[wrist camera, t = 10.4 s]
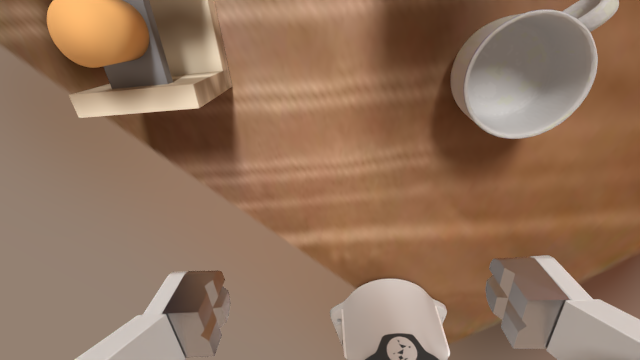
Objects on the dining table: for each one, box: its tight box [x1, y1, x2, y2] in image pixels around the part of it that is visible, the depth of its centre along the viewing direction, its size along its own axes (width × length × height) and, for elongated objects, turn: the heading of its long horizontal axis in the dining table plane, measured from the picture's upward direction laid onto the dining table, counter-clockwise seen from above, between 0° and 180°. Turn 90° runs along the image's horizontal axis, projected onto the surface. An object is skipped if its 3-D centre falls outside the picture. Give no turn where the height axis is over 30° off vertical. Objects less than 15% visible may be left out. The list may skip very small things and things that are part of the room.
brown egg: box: [47, 0, 149, 68], centre depth 23 cm, size 5×5×4 cm
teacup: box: [451, 0, 619, 139], centre depth 30 cm, size 14×11×8 cm
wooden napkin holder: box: [69, 0, 232, 118], centre depth 29 cm, size 13×11×10 cm
